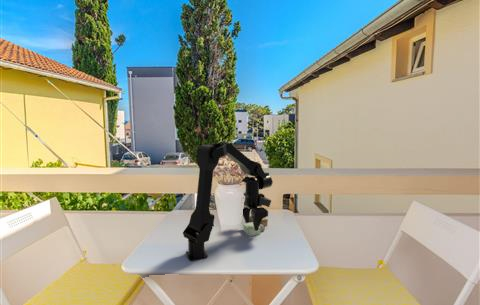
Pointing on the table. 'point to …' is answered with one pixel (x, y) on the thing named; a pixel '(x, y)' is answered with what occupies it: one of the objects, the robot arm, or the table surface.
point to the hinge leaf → (252, 229)
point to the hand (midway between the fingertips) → (251, 226)
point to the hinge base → (263, 222)
